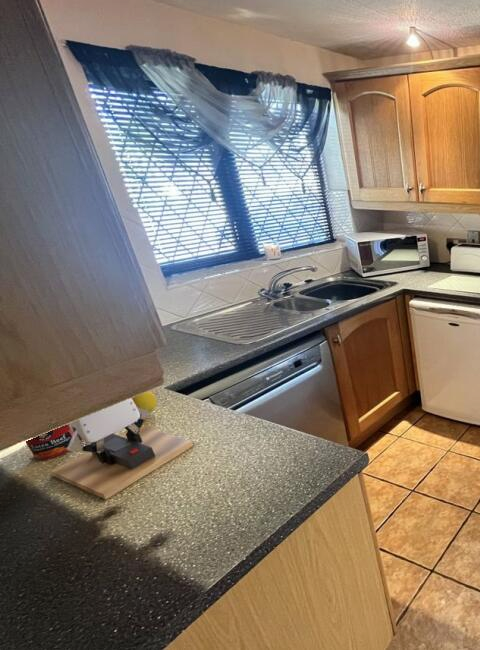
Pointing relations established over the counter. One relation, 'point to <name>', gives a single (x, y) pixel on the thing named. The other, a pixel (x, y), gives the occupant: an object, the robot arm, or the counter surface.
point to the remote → (127, 451)
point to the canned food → (51, 443)
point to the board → (116, 477)
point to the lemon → (145, 401)
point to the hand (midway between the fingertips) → (123, 454)
